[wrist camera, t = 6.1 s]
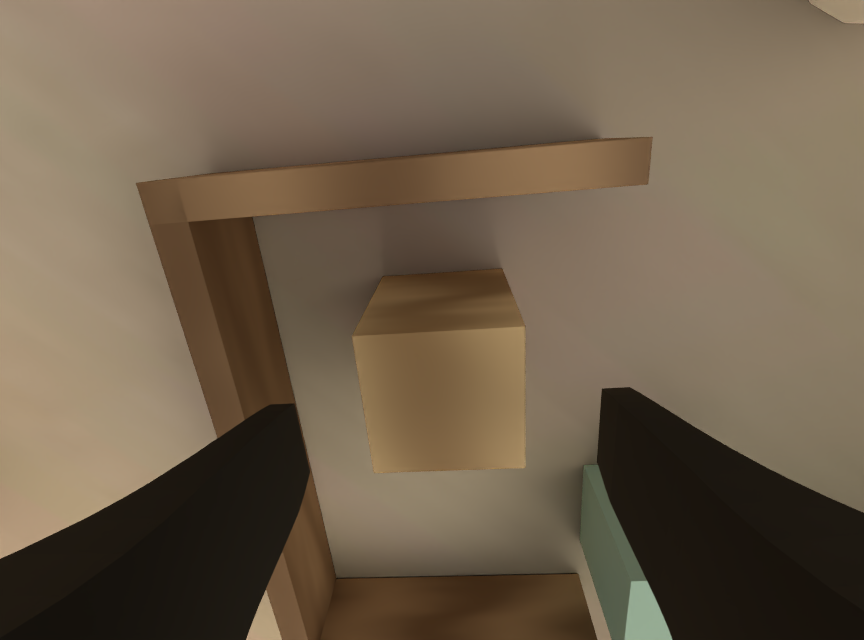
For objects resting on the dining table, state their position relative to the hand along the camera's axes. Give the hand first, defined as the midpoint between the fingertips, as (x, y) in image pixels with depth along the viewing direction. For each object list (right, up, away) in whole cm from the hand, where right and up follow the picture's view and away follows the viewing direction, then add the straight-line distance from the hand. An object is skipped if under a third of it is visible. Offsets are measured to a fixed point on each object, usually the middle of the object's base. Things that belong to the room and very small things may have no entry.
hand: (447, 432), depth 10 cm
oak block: (0, +2, +5) cm, 6 cm away
